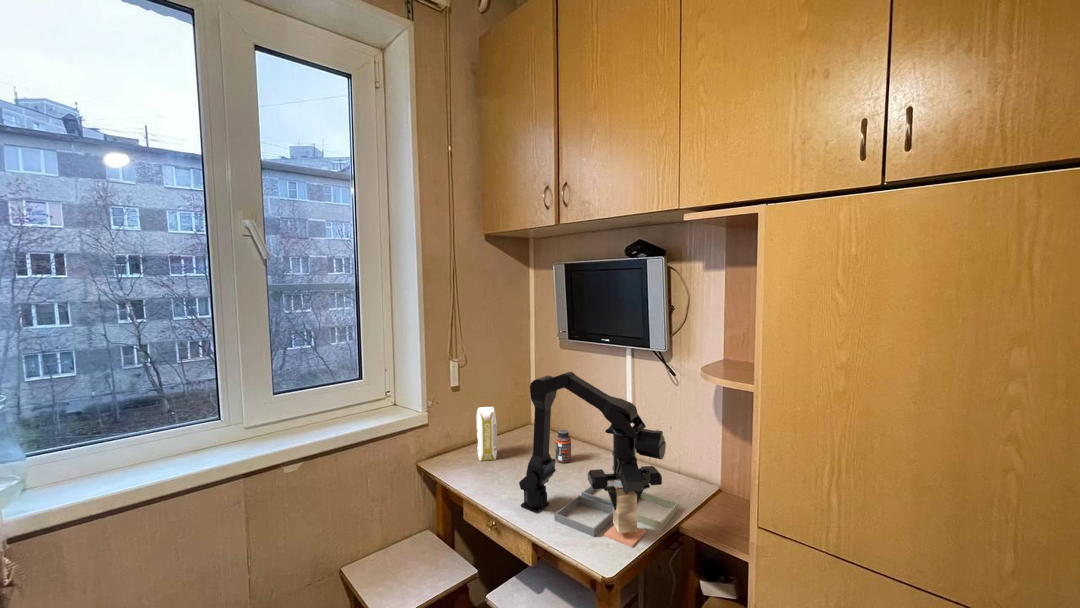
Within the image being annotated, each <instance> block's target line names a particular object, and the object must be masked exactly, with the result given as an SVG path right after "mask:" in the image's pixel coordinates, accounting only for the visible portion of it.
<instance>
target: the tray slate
mask: <svg viewBox="0 0 1080 608" xmlns="http://www.w3.org/2000/svg"><path fill="white" fill-rule="evenodd" d="M613 485H614V487H615V486H622V483H621V481H614V482H613ZM595 490H596V489H592V487H591V485H589V486H588V487H587V488H585V489H584V490H582V491H581V496H583V497H586V498H589V499H592V500H594V501H597V502H600V503H603V504H606V505H609V506H611V507H613V505H612V502H611V500H608V499H605V498H602V497H599V496H597V495H593V494H592V492H594V491H595Z"/></svg>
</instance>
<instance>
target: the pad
mask: <svg viewBox="0 0 1080 608" xmlns="http://www.w3.org/2000/svg"><path fill="white" fill-rule="evenodd" d="M644 533H645V534H646V530H645V529H643V528H640V527H637V532H630V533H618V531H617V529H616V527H615V525H614V524H613V525H612V526H611V527H610V528H609V529H608V530H607V531H606V532H605V533H604V537H606V538H608V539H611V540H613V541H615V542H618V543H620V544H624V545H626V546H628V547H631V548H633V547H635V545H636V544H637V543H638V541H639V540H640V539H642V537H643V536H644V535H645V534H644ZM643 534H644V535H643ZM642 535H643V536H642ZM641 536H642V537H641ZM635 543H636V544H635ZM634 544H635V545H634Z"/></svg>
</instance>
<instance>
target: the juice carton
mask: <svg viewBox="0 0 1080 608" xmlns="http://www.w3.org/2000/svg"><path fill="white" fill-rule="evenodd" d="M496 414H497V413H496V410H495V407H494V406H482V407H478V408H477V411H476V443H477V444H476V446H477V447H476V448H477V450H476V451H477V456H478V459H479V462H484V461H495V460H496V458H497V456H498V438H497V437H498V435H497V433H498V432H497V430H498V429H497V427H498V426H497V415H496Z"/></svg>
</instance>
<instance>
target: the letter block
mask: <svg viewBox="0 0 1080 608" xmlns="http://www.w3.org/2000/svg"><path fill="white" fill-rule="evenodd" d="M615 488H616V491H615V496H616V510H614V508H613V520H612V524H613V526H614V525H615V527H616V529H617V531H618V533H630V532H637V528H638V522H637V514H638V504H637V494H636V492H635V491H631V492H626V491H624V489H623V486H615Z"/></svg>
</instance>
